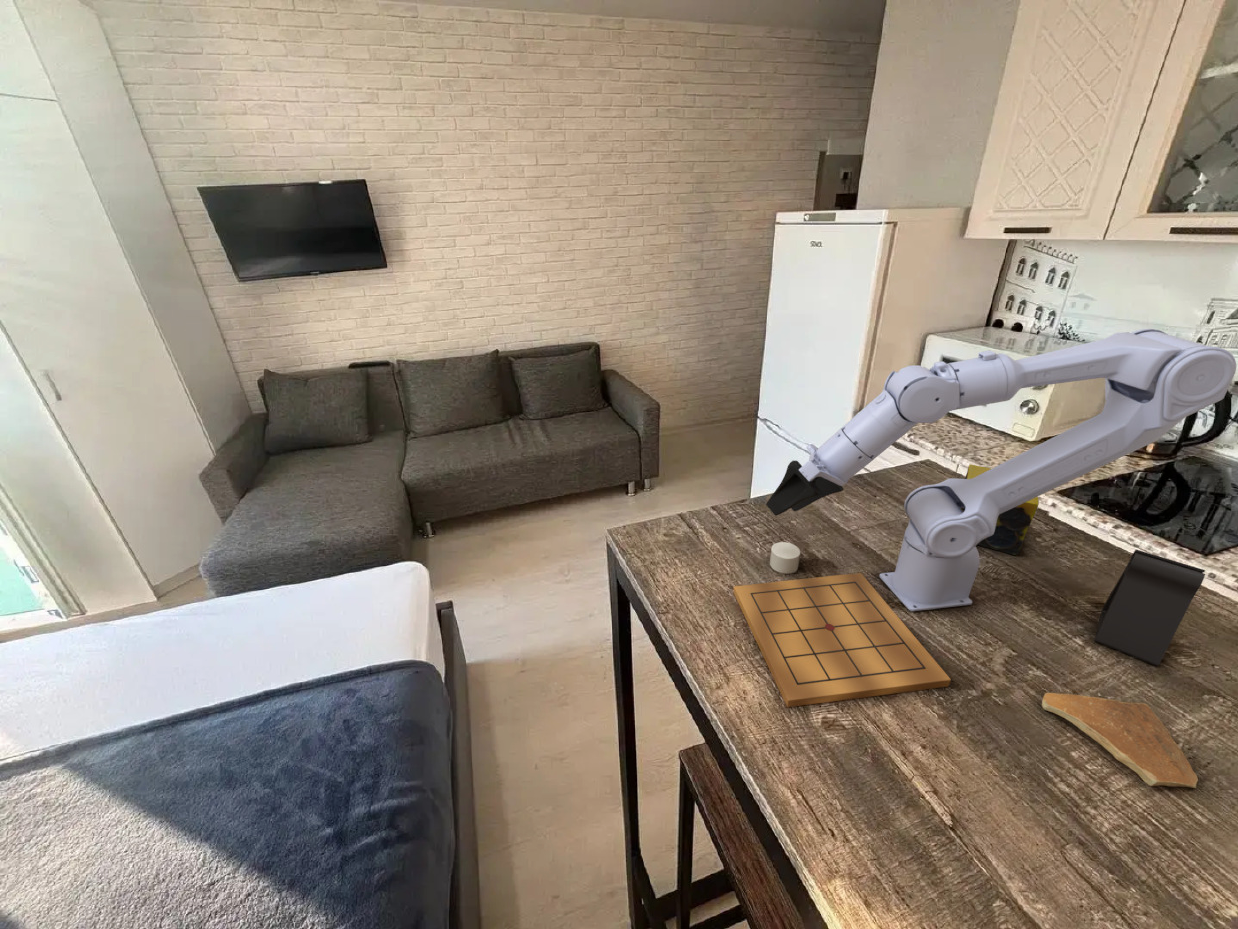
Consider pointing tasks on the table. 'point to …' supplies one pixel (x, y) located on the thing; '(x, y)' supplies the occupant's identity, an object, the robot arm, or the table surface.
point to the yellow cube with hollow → (1007, 521)
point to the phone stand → (1147, 606)
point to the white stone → (784, 557)
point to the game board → (834, 640)
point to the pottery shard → (1127, 736)
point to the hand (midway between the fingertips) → (781, 508)
